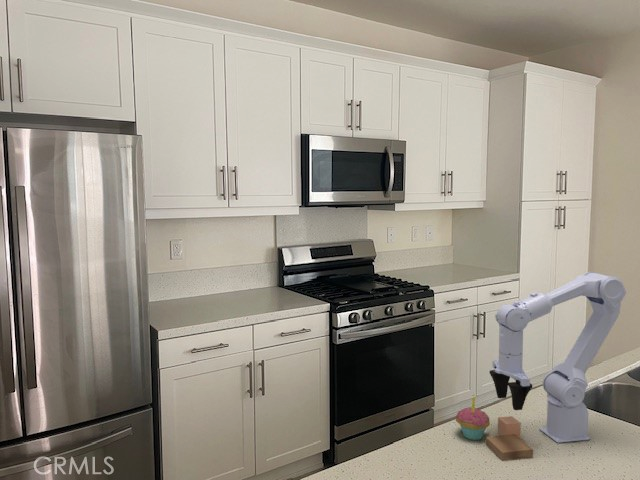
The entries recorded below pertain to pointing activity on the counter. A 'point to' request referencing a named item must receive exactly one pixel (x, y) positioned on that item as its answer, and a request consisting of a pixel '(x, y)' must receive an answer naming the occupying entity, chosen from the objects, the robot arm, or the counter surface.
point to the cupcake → (473, 421)
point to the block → (508, 426)
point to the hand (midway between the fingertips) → (509, 403)
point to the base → (509, 447)
